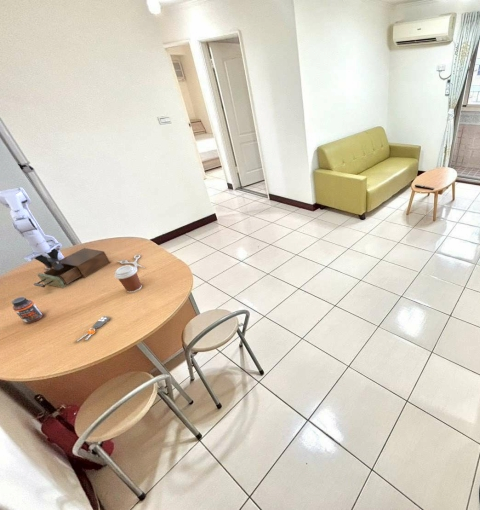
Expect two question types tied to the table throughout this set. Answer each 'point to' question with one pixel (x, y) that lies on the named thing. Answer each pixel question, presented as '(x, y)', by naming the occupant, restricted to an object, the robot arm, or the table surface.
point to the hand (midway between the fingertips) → (53, 265)
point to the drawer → (59, 276)
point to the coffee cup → (128, 278)
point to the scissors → (132, 262)
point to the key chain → (96, 326)
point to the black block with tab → (54, 263)
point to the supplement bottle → (26, 310)
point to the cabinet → (86, 261)
